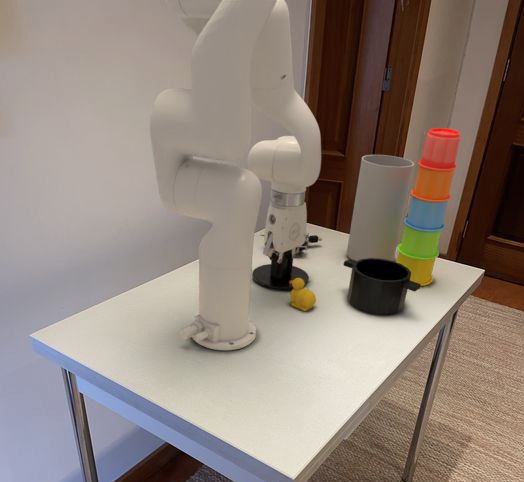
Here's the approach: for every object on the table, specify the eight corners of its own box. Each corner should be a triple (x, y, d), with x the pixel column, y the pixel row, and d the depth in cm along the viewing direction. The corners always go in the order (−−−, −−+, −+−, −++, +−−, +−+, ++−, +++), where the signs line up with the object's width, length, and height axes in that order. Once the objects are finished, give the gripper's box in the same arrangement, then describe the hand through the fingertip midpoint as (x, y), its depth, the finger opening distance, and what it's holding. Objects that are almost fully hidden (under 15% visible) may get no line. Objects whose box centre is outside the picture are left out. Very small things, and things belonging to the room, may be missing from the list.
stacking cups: (441, 283, 129) (481, 133, 111) (407, 289, 125) (443, 134, 107) (414, 267, 137) (448, 124, 119) (382, 271, 133) (412, 125, 115)
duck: (318, 308, 114) (321, 282, 111) (307, 313, 112) (310, 288, 108) (294, 297, 118) (296, 272, 114) (283, 302, 115) (285, 277, 112)
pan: (396, 326, 109) (404, 291, 105) (326, 297, 119) (331, 264, 115) (424, 307, 118) (432, 274, 113) (356, 281, 127) (362, 250, 123)
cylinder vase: (402, 259, 141) (424, 163, 128) (375, 271, 133) (395, 169, 120) (364, 245, 148) (381, 152, 135) (336, 255, 140) (351, 158, 127)
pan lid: (284, 297, 118) (286, 274, 115) (240, 277, 125) (241, 255, 122) (319, 280, 126) (322, 258, 123) (276, 263, 134) (278, 242, 131)
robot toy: (285, 238, 152) (257, 249, 140) (287, 222, 149) (259, 232, 138) (323, 248, 146) (297, 261, 135) (326, 232, 144) (300, 243, 133)
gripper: (276, 209, 108) (270, 290, 118) (323, 195, 118) (314, 270, 128) (249, 200, 112) (245, 279, 122) (297, 187, 122) (290, 261, 132)
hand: (280, 274), depth 125 cm, fingers closed on pan lid, 2 cm apart
